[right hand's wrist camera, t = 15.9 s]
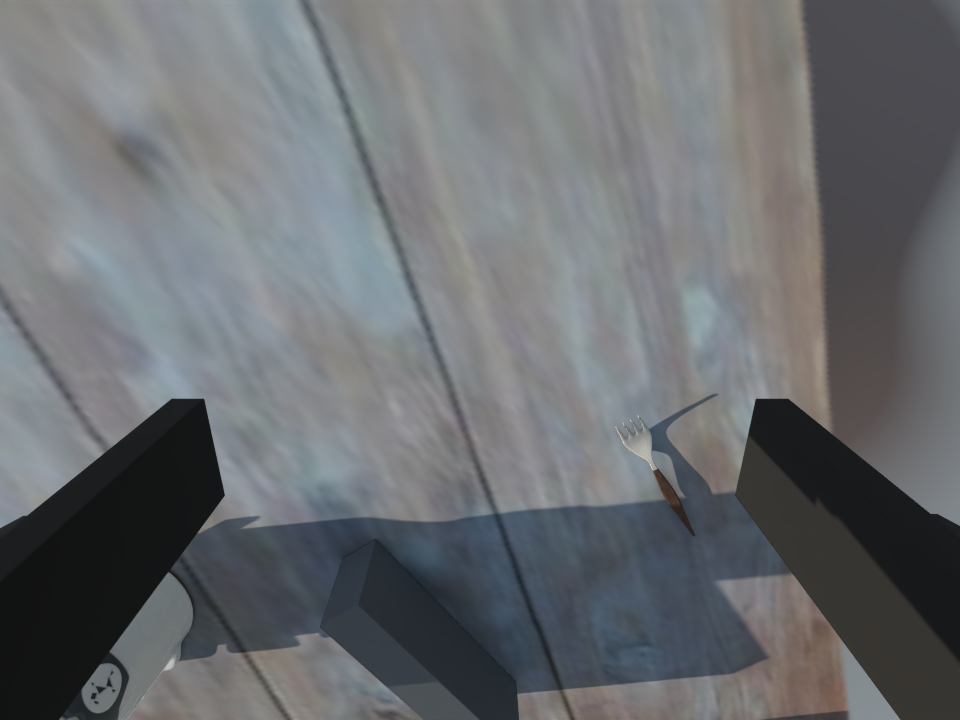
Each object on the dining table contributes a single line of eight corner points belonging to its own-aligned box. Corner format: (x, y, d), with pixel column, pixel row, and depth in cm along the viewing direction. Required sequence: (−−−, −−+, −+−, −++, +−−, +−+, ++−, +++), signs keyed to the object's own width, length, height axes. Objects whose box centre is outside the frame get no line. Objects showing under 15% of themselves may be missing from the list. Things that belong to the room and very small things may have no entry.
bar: (342, 558, 54) (319, 627, 46) (375, 538, 53) (358, 605, 45) (485, 697, 61) (485, 776, 54) (516, 681, 61) (522, 759, 53)
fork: (679, 538, 53) (687, 552, 51) (608, 417, 48) (613, 428, 46) (704, 527, 52) (712, 540, 50) (634, 404, 47) (640, 414, 45)
